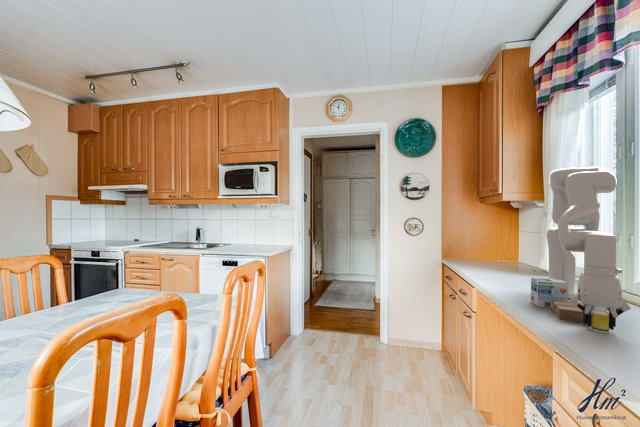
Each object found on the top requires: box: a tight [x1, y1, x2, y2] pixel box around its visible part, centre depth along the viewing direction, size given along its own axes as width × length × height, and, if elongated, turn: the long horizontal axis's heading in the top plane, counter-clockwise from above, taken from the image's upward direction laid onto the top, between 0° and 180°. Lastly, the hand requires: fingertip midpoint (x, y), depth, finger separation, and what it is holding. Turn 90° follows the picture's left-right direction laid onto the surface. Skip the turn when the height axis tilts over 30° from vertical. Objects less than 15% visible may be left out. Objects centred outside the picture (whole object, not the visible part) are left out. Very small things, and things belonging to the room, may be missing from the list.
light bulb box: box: [530, 276, 569, 309], centre depth 119 cm, size 11×7×11 cm, turn 74°
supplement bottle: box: [588, 306, 610, 334], centre depth 94 cm, size 5×5×8 cm
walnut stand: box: [551, 300, 592, 325], centre depth 105 cm, size 12×12×4 cm
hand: (598, 326), depth 94 cm, fingers closed on supplement bottle, 4 cm apart
